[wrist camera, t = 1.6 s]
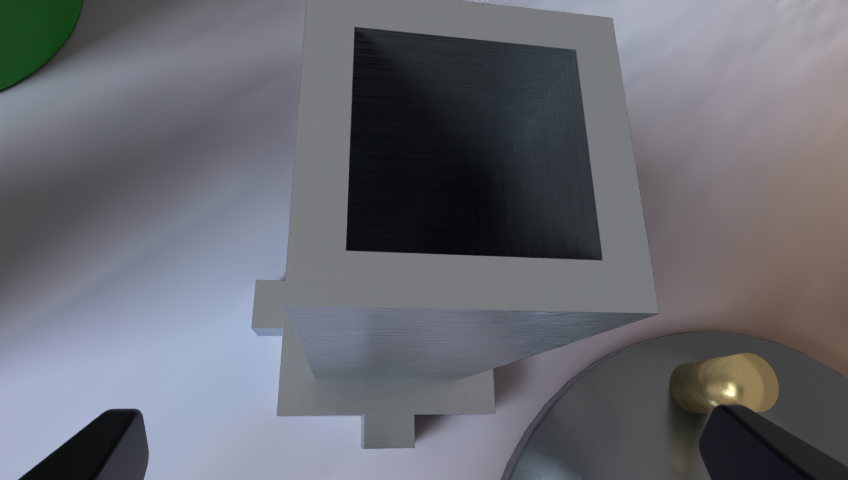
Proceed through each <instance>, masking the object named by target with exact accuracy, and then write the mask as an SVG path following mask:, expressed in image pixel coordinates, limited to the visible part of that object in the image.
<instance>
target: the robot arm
mask: <svg viewBox="0 0 848 480" xmlns="http://www.w3.org/2000/svg"><path fill="white" fill-rule="evenodd" d="M699 451H700V455H701V457H702V460H703V462H704V464H705V467H706V469H707V471H708V474H709V476H710V478H711V480H848V467H847V466H845V465H844V464H842V463H840V462H839V461H837V460H835V459H834V458H832V457H830V456H829V455H827V454H825V453H824V452H822V451H820V450H818V449H817V448H815V447H813V446H812V445H810V444H808V443H807V442H805V441H803V440H802V439H800V438H798V437H797V436H795V435H793V434H791V433H790V432H788V431H786V430H785V429H783V428H781V427H780V426H778V425H776V424H775V423H773V422H771V421H770V420H768V419H766V418H764V417H763V416H761V415H759V414H758V413H756V412H754V411H753V410H751V409H749V408H748V407H746V406H743V405H739V404H721V405H717V406H716V407H715V408H714V409H713V410H712V412H711V414H710V417H709V419H708V421H707V423H706V425H705V427H704V429H703V432H702V434H701V436H700V439H699ZM148 457H149V449H148V443H147V437H146V432H145V426H144V420H143V415H142V413H141V412H140V410H138V409H110V410H107V411H105V412H104V413H102V414H101V415H100V416H98V417H97V418H96V419H94V420H93V421H92V422H91V423H89V424H88V425H87V426H86V427H84V428H83V429H82V430H81V431H79V432H78V433H77V434H75V435H74V436H73V437H72V438H70V439H69V440H68V441H67V442H65V443H64V444H63V445H61V446H60V447H59V448H58V449H56V450H55V451H54V452H53V453H51V454H50V455H49V456H48V457H46V458H45V459H44V460H42V461H41V462H40V463H39V464H37V465H36V466H35V467H34V468H32V469H31V470H30V471H28V472H27V473H26V474H25V475H23V476H22V477H21V478H20V479H18V480H144V476H145V473H146V469H147V465H148Z"/></svg>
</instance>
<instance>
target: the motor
mask: <svg viewBox="0 0 848 480" xmlns="http://www.w3.org/2000/svg"><path fill="white" fill-rule="evenodd" d="M81 6H82V0H0V90H1V89H4V88H6V87H8V86H10V85H12V84H14V83H16V82H18V81H19V80H21V79H23V78H25V77H26V76H28V75H29V74H31V73H32V72H34V71H35V70H37V69H38V68H39V67H41V66H42V65H43V64H44V63H45V62H47V61H48V60H49V59H50V58H51V57H52V56H53V55H54V54H55V53H56V52H57V51H58V50H59V49H60V48H61V46H62V45H63V44H64V42H65V41H66V40H67V38H68V37H69V35H70V34H71V32H72V30H73V28H74V26H75V24H76V22H77V20H78V17H79V14H80V10H81Z"/></svg>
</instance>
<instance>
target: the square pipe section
mask: <svg viewBox="0 0 848 480" xmlns="http://www.w3.org/2000/svg"><path fill="white" fill-rule="evenodd" d="M656 314H659V310H658V303H657V297H656V291H655V284H654V278H653V272H652V265H651V259H650V253H649V246H648V240H647V234H646V227H645V221H644V215H643V208H642V202H641V196H640V189H639V183H638V177H637V170H636V164H635V158H634V151H633V145H632V139H631V132H630V126H629V120H628V113H627V107H626V101H625V94H624V88H623V82H622V75H621V69H620V63H619V56H618V50H617V44H616V37H615V31H614V25H613V18H609V17H600V16H591V15H583V14H574V13H565V12H556V11H548V10H539V9H530V8H521V7H513V6H504V5H495V4H487V3H478V2H469V1H460V0H307V2H306V15H305V28H304V41H303V54H302V67H301V80H300V93H299V107H298V120H297V133H296V146H295V159H294V172H293V185H292V198H291V212H290V225H289V238H288V251H287V264H286V277H285V281H276V280H256V286H255V296H254V307H253V317H252V329H253V330H254V331H255V333H256V334H257V335H258V336H283V340H282V353H281V366H280V380H279V393H278V406H277V416H362V434H361V447H362V448H363V449H382V448H415V419H414V415H463V414H496V413H495V394H494V375H493V369H494V368H497V367H500V366H503V365H506V364H509V363H512V362H515V361H518V360H521V359H524V358H527V357H530V356H533V355H536V354H539V353H542V352H545V351H548V350H551V349H554V348H557V347H560V346H563V345H566V344H569V343H572V342H575V341H578V340H581V339H584V338H587V337H590V336H593V335H596V334H599V333H602V332H605V331H608V330H611V329H614V328H617V327H620V326H623V325H626V324H629V323H632V322H635V321H638V320H641V319H644V318H647V317H650V316H653V315H656Z"/></svg>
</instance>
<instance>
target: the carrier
mask: <svg viewBox="0 0 848 480" xmlns="http://www.w3.org/2000/svg"><path fill="white" fill-rule="evenodd" d="M721 404H739V405H743V406H746V407H748V408H749V409H751V410H753V411H754V412H756V413H758V414H759V415H761V416H763V417H764V418H766V419H768V420H770V421H771V422H773V423H775V424H776V425H778V426H780V427H781V428H783V429H785V430H786V431H788V432H790V433H791V434H793V435H795V436H797V437H798V438H800V439H802V440H803V441H805V442H807V443H808V444H810V445H812V446H813V447H815V448H817V449H818V450H820V451H822V452H824V453H825V454H827V455H829V456H830V457H832V458H834V459H835V460H837V461H839V462H840V463H842V464H844V465H845V466H847V467H848V379H846V378H845V377H843V376H842V375H840V374H839V373H837V372H836V371H835V370H833V369H831V368H830V367H828V366H826V365H824V364H822V363H820V362H818V361H817V360H815V359H813V358H811V357H809V356H807V355H805V354H803V353H801V352H798V351H796V350H793V349H791V348H788V347H786V346H783V345H781V344H778V343H776V342H772V341H768V340H764V339H760V338H756V337H752V336H748V335H743V334H734V333H725V332H687V333H681V334H676V335H670V336H665V337H659V338H655V339H652V340H648V341H644V342H641V343H638V344H635V345H632V346H630V347H627V348H624V349H621V350H618V351H616V352H614V353H612V354H610V355H608V356H607V357H605V358H603V359H601V360H599V361H597V362H595V363H593V364H592V365H590V366H589V367H588V368H586V369H585V370H584V371H582V372H581V373H579V374H578V375H577V376H575V377H574V378H573V379H571V380H570V381H569V382H567V383H566V384H565V385H564V386H563V387H562V388H561V389H560V390H559V391H558V392H557V393H556V394H555V395H554V396H553V397H552V398H551V399H550V400H549V401H548V402H547V403H546V404H545V406H544V407H543V408H542V410H541V411H540V412H539V414H538V415H537V416H536V418H535V419H534V420H533V422H532V423H531V424H530V426H529V427H528V428H527V430H526V431H525V433H524V435H523V436H522V438H521V440H520V442H519V443H518V445H517V447H516V449H515V451H514V452H513V454H512V456H511V458H510V460H509V461H508V463H507V466H506V468H505V471H504V473H503V476H502V478H501V480H711V478H710V476H709V474H708V471H707V469H706V467H705V464H704V462H703V460H702V457H701V455H700V451H699V439H700V436H701V434H702V432H703V429H704V427H705V425H706V423H707V421H708V419H709V417H710V414H711V412H712V410H713V409H714V408H715V407H716V406H717V405H721Z"/></svg>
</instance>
